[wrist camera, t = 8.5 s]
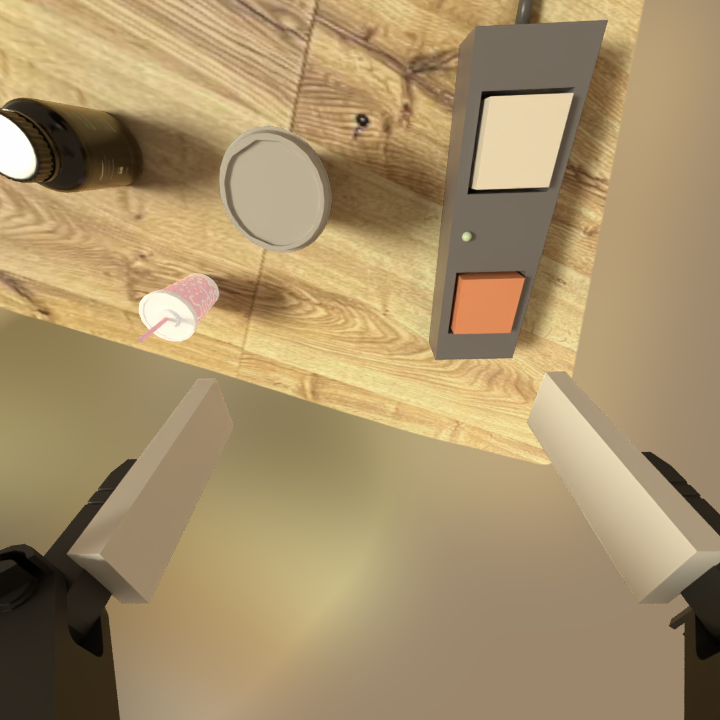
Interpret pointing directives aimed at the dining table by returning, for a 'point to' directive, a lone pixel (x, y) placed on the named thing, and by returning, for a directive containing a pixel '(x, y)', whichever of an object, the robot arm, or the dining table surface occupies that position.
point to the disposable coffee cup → (275, 189)
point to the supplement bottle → (66, 147)
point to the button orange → (485, 302)
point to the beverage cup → (178, 307)
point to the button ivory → (518, 140)
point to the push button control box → (515, 205)
